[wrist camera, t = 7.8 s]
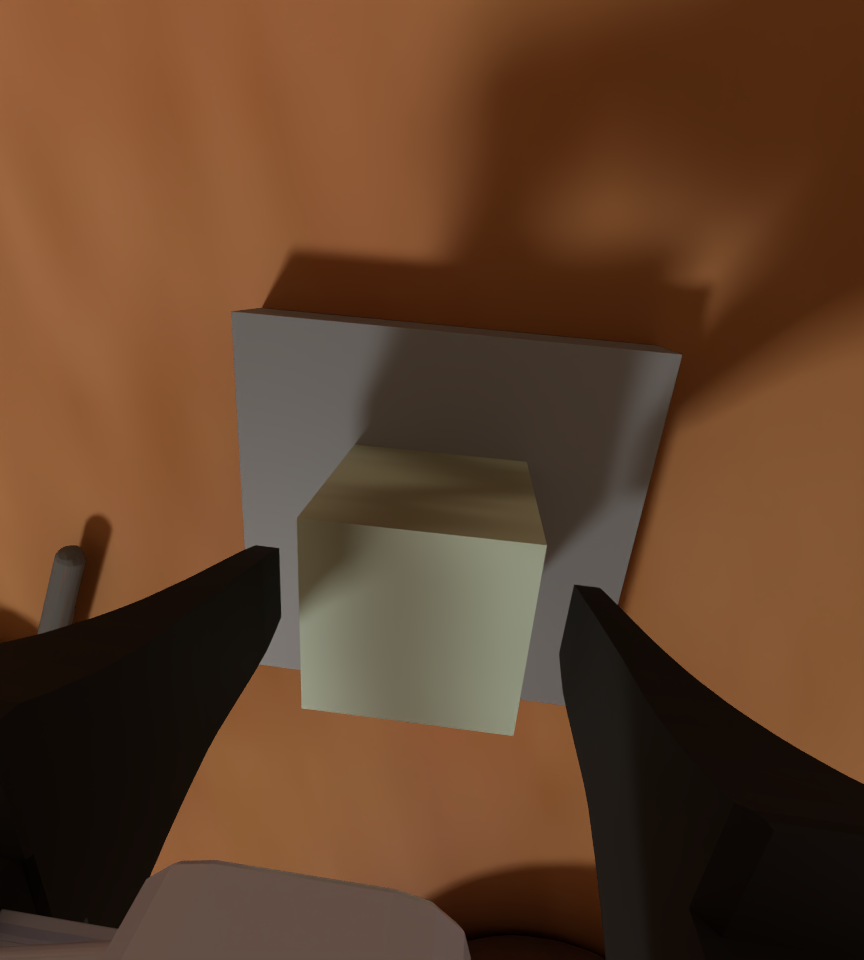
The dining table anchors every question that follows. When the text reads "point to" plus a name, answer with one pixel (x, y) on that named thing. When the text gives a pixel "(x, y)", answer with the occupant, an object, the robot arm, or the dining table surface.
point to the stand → (453, 438)
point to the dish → (525, 949)
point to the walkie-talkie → (62, 589)
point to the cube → (419, 588)
